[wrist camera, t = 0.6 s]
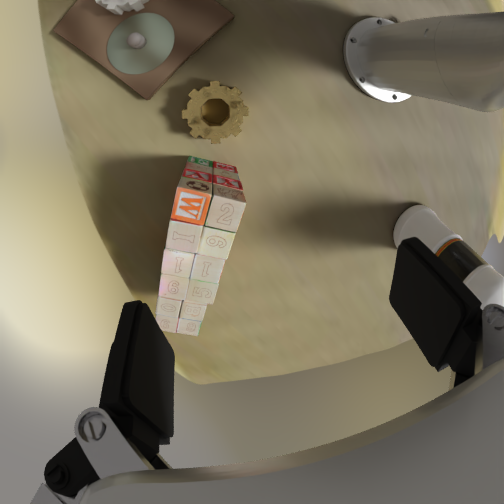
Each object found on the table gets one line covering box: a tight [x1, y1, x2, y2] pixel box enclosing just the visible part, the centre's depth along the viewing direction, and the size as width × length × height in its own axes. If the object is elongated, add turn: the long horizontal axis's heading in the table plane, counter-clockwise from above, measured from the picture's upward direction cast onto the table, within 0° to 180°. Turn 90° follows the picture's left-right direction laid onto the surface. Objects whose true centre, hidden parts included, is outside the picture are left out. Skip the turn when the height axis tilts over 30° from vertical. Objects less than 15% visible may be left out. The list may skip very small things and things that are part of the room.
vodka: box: [393, 205, 504, 310], centre depth 30 cm, size 9×9×30 cm
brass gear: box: [182, 81, 248, 144], centre depth 29 cm, size 7×7×3 cm
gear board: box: [53, 0, 234, 100], centre depth 20 cm, size 14×18×5 cm
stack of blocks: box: [156, 156, 246, 336], centre depth 34 cm, size 21×6×12 cm, turn 162°
